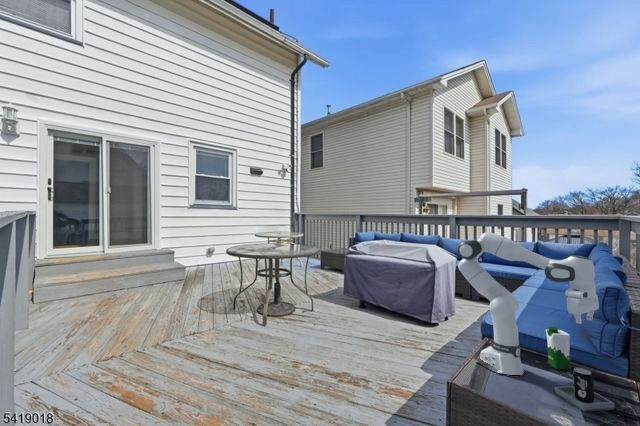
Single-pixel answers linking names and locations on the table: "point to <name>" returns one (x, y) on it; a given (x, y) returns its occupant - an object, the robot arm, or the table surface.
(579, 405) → the tray
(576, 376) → the beverage can
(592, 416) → the table surface
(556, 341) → the milk carton
